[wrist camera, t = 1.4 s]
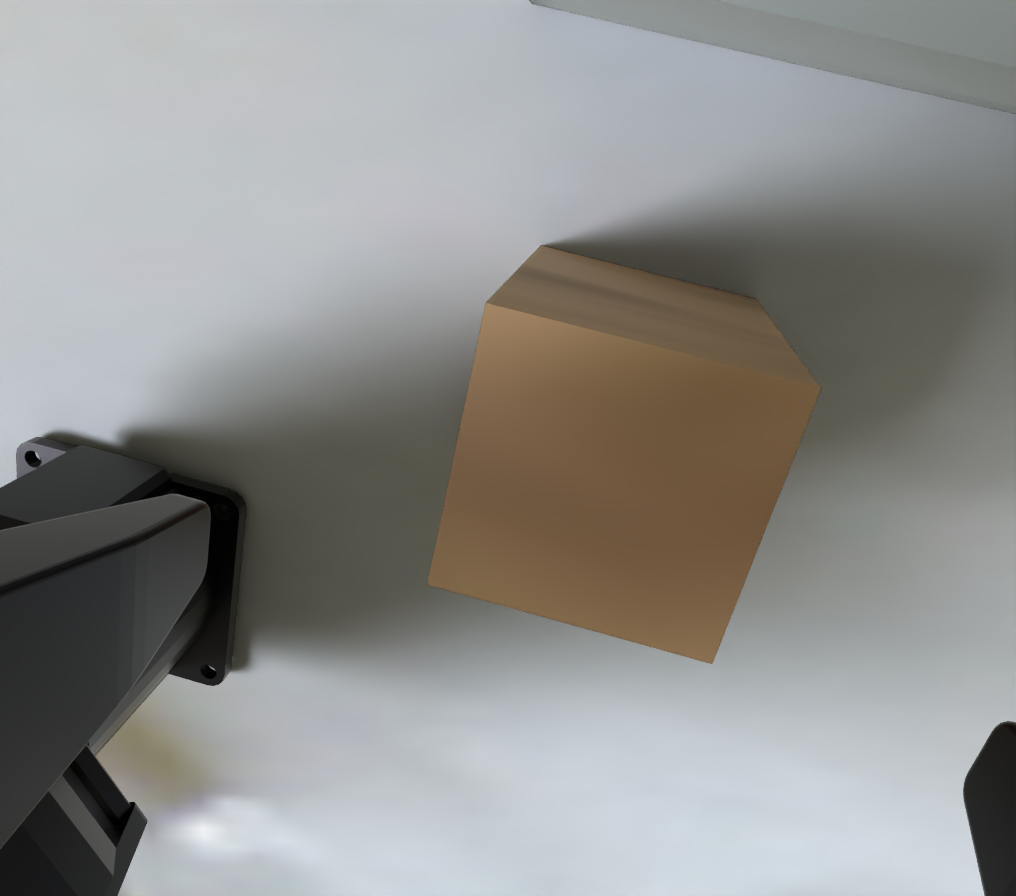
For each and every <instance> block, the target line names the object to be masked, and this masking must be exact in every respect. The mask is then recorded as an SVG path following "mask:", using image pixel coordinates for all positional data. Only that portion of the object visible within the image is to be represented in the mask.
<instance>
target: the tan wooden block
mask: <svg viewBox="0 0 1016 896" xmlns="http://www.w3.org/2000/svg"><path fill="white" fill-rule="evenodd" d="M820 390H821V387H820V385H819V384H818V383H817V381H816V380H815V379H814V377H813V376H812V374H811V373H810V372H809V370H808V369H807V368H806V366H805V365H804V364H803V362H802V361H801V360H800V358H799V357H798V355H797V354H796V353H795V351H794V350H793V349H792V347H791V346H790V345H789V343H788V342H787V341H786V339H785V338H784V336H783V335H782V334H781V332H780V331H779V330H778V328H777V327H776V326H775V324H774V323H773V322H772V320H771V319H770V317H769V316H768V315H767V313H766V312H765V311H764V309H763V308H762V307H761V305H760V304H759V303H758V301H757V300H756V299H755V298H751V297H747V296H743V295H739V294H735V293H731V292H727V291H723V290H719V289H715V288H711V287H707V286H703V285H698V284H694V283H690V282H686V281H682V280H678V279H674V278H670V277H666V276H662V275H658V274H654V273H650V272H646V271H642V270H638V269H634V268H630V267H626V266H622V265H618V264H614V263H610V262H606V261H602V260H598V259H593V258H589V257H585V256H581V255H577V254H573V253H569V252H565V251H561V250H557V249H553V248H549V247H545V246H540V247H539V248H538V249H537V250H536V251H535V252H534V253H533V254H532V255H531V256H530V257H529V258H528V259H527V260H526V261H525V262H524V263H523V264H522V266H521V267H520V268H519V269H518V270H517V271H516V272H515V273H514V274H513V275H512V276H511V277H510V278H509V279H508V280H507V281H506V282H505V283H504V284H503V285H502V286H501V287H500V288H499V290H498V291H497V292H496V293H495V294H494V295H493V296H492V297H491V298H490V299H489V300H488V301H487V302H486V304H485V309H484V313H483V318H482V323H481V328H480V333H479V337H478V342H477V347H476V352H475V357H474V361H473V366H472V371H471V376H470V381H469V385H468V390H467V395H466V400H465V405H464V409H463V414H462V419H461V424H460V429H459V433H458V438H457V443H456V448H455V453H454V457H453V462H452V467H451V472H450V477H449V481H448V486H447V491H446V496H445V501H444V505H443V510H442V515H441V520H440V525H439V529H438V534H437V539H436V544H435V549H434V553H433V558H432V563H431V568H430V573H429V577H428V582H427V585H430V586H434V587H437V588H441V589H444V590H448V591H452V592H455V593H459V594H462V595H466V596H470V597H473V598H477V599H480V600H484V601H488V602H491V603H495V604H498V605H502V606H506V607H509V608H513V609H516V610H520V611H524V612H527V613H531V614H534V615H538V616H542V617H545V618H549V619H552V620H556V621H560V622H563V623H567V624H570V625H574V626H577V627H581V628H585V629H588V630H592V631H595V632H599V633H603V634H606V635H610V636H613V637H617V638H621V639H624V640H628V641H631V642H635V643H639V644H642V645H646V646H649V647H653V648H657V649H660V650H664V651H667V652H671V653H675V654H678V655H682V656H685V657H689V658H693V659H696V660H700V661H703V662H707V663H711V664H712V663H713V661H714V658H715V656H716V653H717V651H718V648H719V646H720V643H721V641H722V638H723V636H724V633H725V631H726V628H727V625H728V623H729V620H730V618H731V615H732V613H733V610H734V608H735V605H736V603H737V600H738V598H739V595H740V593H741V590H742V588H743V585H744V582H745V580H746V577H747V575H748V572H749V570H750V567H751V565H752V562H753V560H754V557H755V555H756V552H757V550H758V547H759V545H760V542H761V539H762V537H763V534H764V532H765V529H766V527H767V524H768V522H769V519H770V517H771V514H772V512H773V509H774V507H775V504H776V502H777V499H778V497H779V494H780V491H781V489H782V486H783V484H784V481H785V479H786V476H787V474H788V471H789V469H790V466H791V464H792V461H793V459H794V456H795V454H796V451H797V448H798V446H799V443H800V441H801V438H802V436H803V433H804V431H805V428H806V426H807V423H808V421H809V418H810V416H811V413H812V411H813V408H814V405H815V403H816V400H817V398H818V395H819V393H820Z"/></svg>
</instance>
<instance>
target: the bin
mask: <svg viewBox="0 0 1016 896" xmlns="http://www.w3.org/2000/svg"><path fill="white" fill-rule="evenodd" d="M529 1H530V2H531V3H532V4H536V5H540V6H544V7H549V8H553V9H558V10H562V11H566V12H571V13H575V14H579V15H584V16H588V17H593V18H597V19H601V20H606V21H610V22H614V23H619V24H623V25H628V26H632V27H636V28H641V29H645V30H650V31H654V32H658V33H663V34H667V35H671V36H676V37H680V38H685V39H689V40H693V41H698V42H702V43H706V44H711V45H715V46H720V47H724V48H728V49H733V50H737V51H742V52H746V53H750V54H755V55H759V56H763V57H768V58H772V59H777V60H781V61H785V62H790V63H794V64H799V65H803V66H807V67H812V68H816V69H820V70H825V71H829V72H834V73H838V74H842V75H847V76H851V77H855V78H860V79H864V80H869V81H873V82H877V83H882V84H886V85H891V86H895V87H899V88H904V89H908V90H912V91H917V92H921V93H926V94H930V95H934V96H939V97H943V98H947V99H952V100H956V101H961V102H965V103H969V104H974V105H978V106H983V107H987V108H991V109H996V110H1000V111H1004V112H1009V113H1013V114H1016V0H529Z"/></svg>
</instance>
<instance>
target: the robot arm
mask: <svg viewBox="0 0 1016 896" xmlns="http://www.w3.org/2000/svg"><path fill="white" fill-rule="evenodd" d="M35 452H36V453H38V454H39V456H40V457H41V460H42V461H40V460H39V459H38V458H37V457H36V454H35ZM16 462H17V479H16V480H14V481H12V482H11V483H9V484H7V485H5V486H3V487H1V488H0V896H117V895H118V893H119V890H120V888H121V885H122V883H123V880H124V878H125V875H126V873H127V871H128V868H129V866H130V863H131V861H132V858H133V856H134V853H135V851H136V848H137V846H138V844H139V841H140V839H141V836H142V834H143V831H144V829H145V826H146V824H147V819H146V817H145V816H144V814H143V813H142V812H141V810H140V809H139V808H138V806H137V805H136V803H135V802H128V800H127V799H126V798H125V796H124V795H123V793H122V792H121V791H120V789H119V788H118V787H117V785H116V784H115V782H114V781H113V780H112V778H111V777H110V776H109V774H108V773H107V771H106V770H105V769H104V767H103V766H102V764H101V763H100V762H99V760H98V759H97V758H96V755H97V754H98V752H99V751H100V750H101V749H102V748H103V747H104V746H105V745H106V743H107V742H108V741H109V740H110V739H111V738H112V737H113V736H114V734H115V733H116V732H117V731H118V730H119V729H120V728H121V727H122V725H123V724H124V723H125V722H126V721H127V720H128V719H129V718H130V716H131V715H132V714H133V713H134V712H135V711H136V710H137V709H138V707H139V706H140V705H141V704H142V703H143V702H144V701H145V700H146V698H147V697H148V696H149V695H150V694H151V693H152V692H153V690H154V689H155V688H156V687H157V686H158V685H159V684H160V683H161V681H162V680H163V679H164V678H165V677H166V676H167V675H168V674H171V675H175V676H178V677H182V678H185V679H189V680H192V681H195V682H199V683H202V684H206V685H211V686H215V685H219V684H220V683H221V682H222V681H223V680H224V679H225V678H226V676H227V675H228V674H229V672H230V669H231V661H232V651H233V640H234V630H235V620H236V610H237V599H238V589H239V579H240V568H241V558H242V548H243V538H244V527H245V517H246V504H245V502H244V500H243V498H242V497H241V496H240V495H239V494H238V493H237V492H235V491H233V490H231V489H228V488H224V487H221V486H217V485H213V484H210V483H206V482H202V481H199V480H195V479H191V478H188V477H184V476H181V475H177V474H173V473H170V472H169V471H168V470H166V469H165V468H164V467H162V466H158V465H154V464H151V463H147V462H143V461H140V460H136V459H133V458H129V457H125V456H122V455H118V454H114V453H111V452H107V451H103V450H100V449H96V448H93V447H89V446H85V445H79V446H77V447H75V446H72V445H68V444H64V443H61V442H57V441H53V440H50V439H46V438H42V437H36V438H33V439H31V440H28V441H26V442H24V443H22V444H21V445H20V446H19V447H18V448H17V453H16ZM220 503H223V504H225V505H227V506H228V507H229V509H230V512H231V513H227V512H225V511H224V510H223V509H222V508H221V505H220ZM208 665H210V666H212V667H213V668H214V669H215V670H213V669H211V668H210V667H209V666H208ZM963 796H964V803H965V808H966V812H967V817H968V821H969V826H970V831H971V835H972V840H973V844H974V849H975V853H976V858H977V863H978V867H979V872H980V876H981V881H982V886H983V890H984V895H985V896H1016V722H1011V721H1007V722H1003V723H1000V724H999V725H997V726H996V727H995V728H994V730H993V731H992V733H991V734H990V736H989V738H988V739H987V741H986V743H985V745H984V746H983V748H982V750H981V751H980V753H979V755H978V756H977V758H976V760H975V762H974V763H973V765H972V767H971V768H970V770H969V772H968V774H967V776H966V779H965V782H964V788H963Z"/></svg>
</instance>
